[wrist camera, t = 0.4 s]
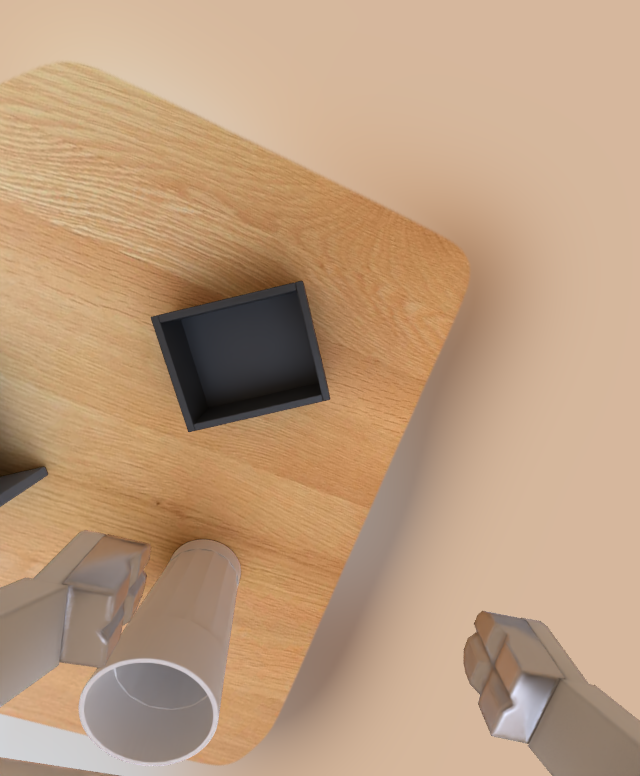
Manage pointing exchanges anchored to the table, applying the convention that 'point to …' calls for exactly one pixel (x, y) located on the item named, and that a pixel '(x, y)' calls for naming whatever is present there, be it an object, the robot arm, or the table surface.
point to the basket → (243, 356)
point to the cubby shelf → (19, 483)
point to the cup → (168, 663)
